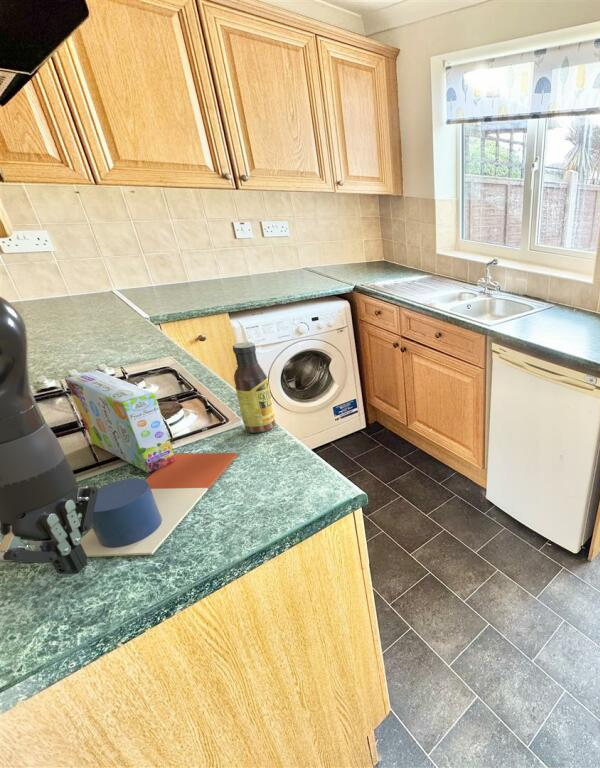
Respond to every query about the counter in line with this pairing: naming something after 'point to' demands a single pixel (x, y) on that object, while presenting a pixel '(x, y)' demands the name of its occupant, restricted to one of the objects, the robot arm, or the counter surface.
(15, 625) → the counter surface
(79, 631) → the counter surface
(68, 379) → the snack box
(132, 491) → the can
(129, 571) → the counter surface
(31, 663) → the counter surface
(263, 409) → the sauce bottle
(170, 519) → the mat
